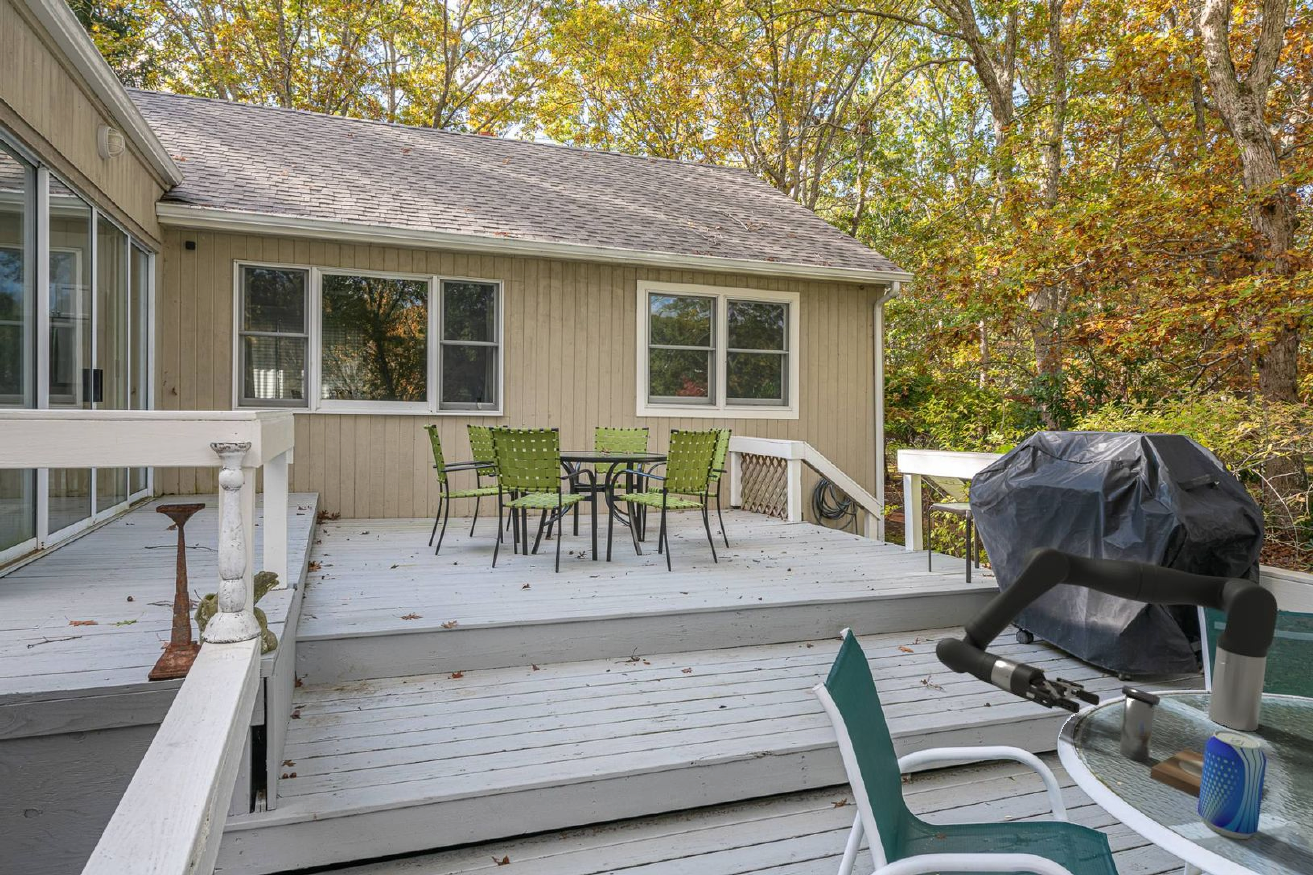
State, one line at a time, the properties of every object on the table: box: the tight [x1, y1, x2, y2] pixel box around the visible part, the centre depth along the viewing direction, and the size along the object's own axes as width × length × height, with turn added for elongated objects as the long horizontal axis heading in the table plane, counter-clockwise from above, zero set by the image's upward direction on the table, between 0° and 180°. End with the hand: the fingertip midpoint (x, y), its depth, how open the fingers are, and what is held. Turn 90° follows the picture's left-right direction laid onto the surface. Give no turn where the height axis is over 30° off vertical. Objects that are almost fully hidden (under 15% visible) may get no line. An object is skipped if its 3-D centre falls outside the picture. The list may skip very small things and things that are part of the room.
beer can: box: [1197, 729, 1267, 840], centre depth 133 cm, size 8×8×16 cm
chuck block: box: [1149, 748, 1204, 799], centre depth 150 cm, size 16×12×2 cm
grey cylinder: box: [1118, 684, 1161, 763], centre depth 159 cm, size 5×6×14 cm
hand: (1088, 704), depth 167 cm, fingers open, 8 cm apart
